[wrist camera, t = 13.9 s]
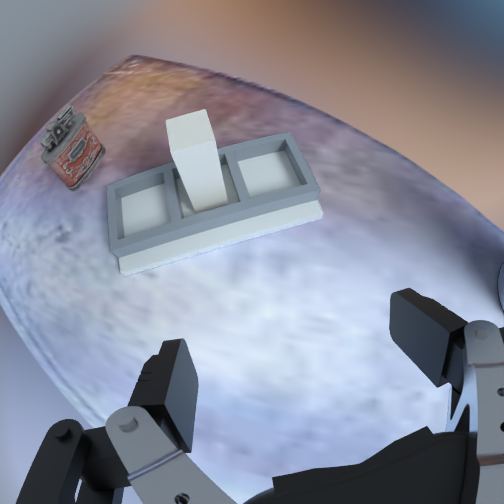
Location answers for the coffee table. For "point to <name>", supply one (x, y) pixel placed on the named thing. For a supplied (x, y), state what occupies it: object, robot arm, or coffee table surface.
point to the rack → (215, 220)
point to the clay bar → (197, 160)
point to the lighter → (71, 148)
